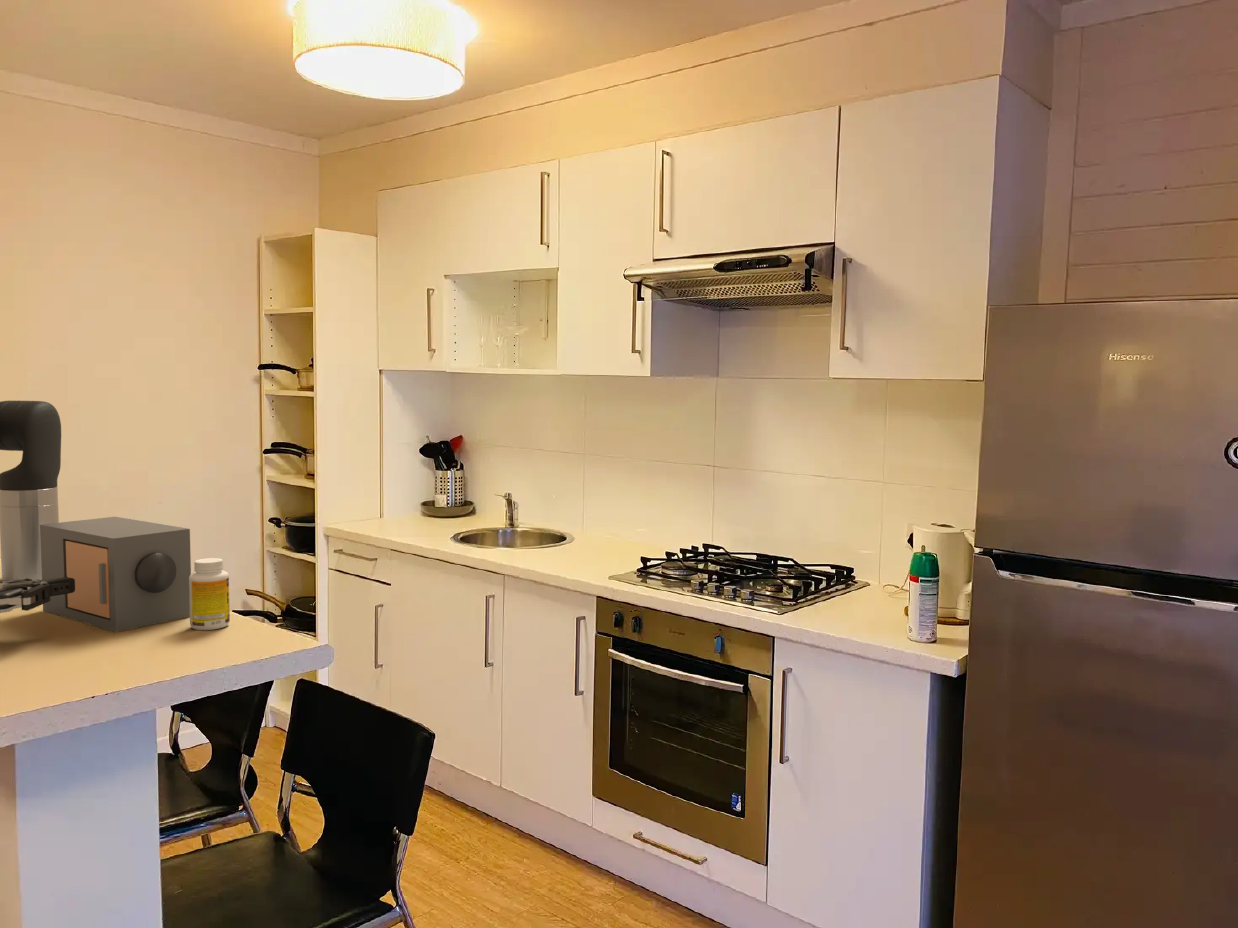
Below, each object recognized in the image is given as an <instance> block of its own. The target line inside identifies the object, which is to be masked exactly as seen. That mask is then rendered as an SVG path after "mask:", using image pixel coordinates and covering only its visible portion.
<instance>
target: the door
mask: <svg viewBox="0 0 1238 928" xmlns="http://www.w3.org/2000/svg"><path fill="white" fill-rule="evenodd" d="M66 568H67V577H70V578H73V579H75V591H74V592H73V593H68V594H67V597H68V607H70V608H74V609H77V610H81V611H85V612H88V613H92V614H95V615H99V616H103V617H106V618H110V590H109V558H108V547H103V546H98V545H93V544H88V543H83V542H78V541H73V540H69V541H66Z"/></svg>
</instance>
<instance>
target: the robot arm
mask: <svg viewBox="0 0 1238 928" xmlns="http://www.w3.org/2000/svg"><path fill="white" fill-rule="evenodd" d="M0 451H9V452H11V451H12V452H13V451H15V452H18V451H19V452H22V456H21V462H19V464H17V465H16V466H15V467H13V468H11V469H7V470H5V471H3V472H0V564H1V565H0V566H1V580H0V614H5V613H8V612H9V613H10V612H11V611H13V610H15V609H19V608H21V611H26V612H27V611H30V610H33V609H35V608H38V607H40V606H43V604H44V603H47V602H49V601H50V597H51V596H57V595H63V594H68V593H73V592H74V591H75V579H73V578H70V577H63V578H57V579H51V580H44V581H43V580H42V568H41V541H40V525H42V524H51V523H60V520H59V519H60V518H59V497H58V495H59V494H58V493H59V491H58V478H59V474H60V472H61V465H62V464H61V461H62V458H61V457H62V454H61V453H62V423H61V417H60V414H59V412H58V410H57V409H56V407H55V406H54V405H53V404H52V403H50V402H48V401H44V400H2V401H0Z"/></svg>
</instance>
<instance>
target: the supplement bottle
mask: <svg viewBox="0 0 1238 928" xmlns="http://www.w3.org/2000/svg"><path fill="white" fill-rule="evenodd" d="M193 564H194V567H193V568H194V572H193V573H192V572H191V575H190V576H189V605H190V617H189V625H190V627H191V628H192V629H193V630H197V631H213V630H219V629H223V628H225V627H227V626H228V625H229V624H230V616H231V615H230V613H231V612H230V575H229V573H228V571H225V570H224V560H223V559H222V558H217V557H208V558H201V559H196V560H194V563H193Z"/></svg>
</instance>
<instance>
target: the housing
mask: <svg viewBox="0 0 1238 928" xmlns="http://www.w3.org/2000/svg"><path fill="white" fill-rule="evenodd" d="M69 540H73V541H78V542H83V543H88V544H93V545H98V546H103V547H108V558H109V590H110V618H106V617H103V616H99V615H95V614H92V613H88V612H85V611H81V610H77V609H74V608H70V607H68V597H67V594H63V595H57V596H51V597H50V601H49V602H47V603H44V604H42V611H43V612H45V613H50V614H54V615H56V616H59V617H64V618H67V619H69V620H70V619H71V620H73V621H77V622H81V623H83V624H87V625H90V626H95V627H97V628H101V629H103V630H108V631H111V632H115V633H119V632H122V631H127V630H133V629H138V628H141V627H147V626H151V625H157V624H161V623H165V622H170V621H175V620H180V619H186V618H190V605H189V576H190V575H191V574H192V569H191V568H192V565H191V564H192V562H191V559H192V558H191V557H192V556H191V528H187V527H181V526H175V525H170V524H169V525H168V524H162V523H157V522H149V521H146V520H145V521H144V520H139V519H134V518H133V519H131V518H126V517H120V516H109V517H108V516H107V517H99V518H90V519H82V520H81V519H80V520H72V521H71V520H70V521H61V522H59V523H51V524H42V525H40V541H41V568H42V580H43V581H44V580H51V579H57V578H63V577H67V568H66V541H69Z"/></svg>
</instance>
